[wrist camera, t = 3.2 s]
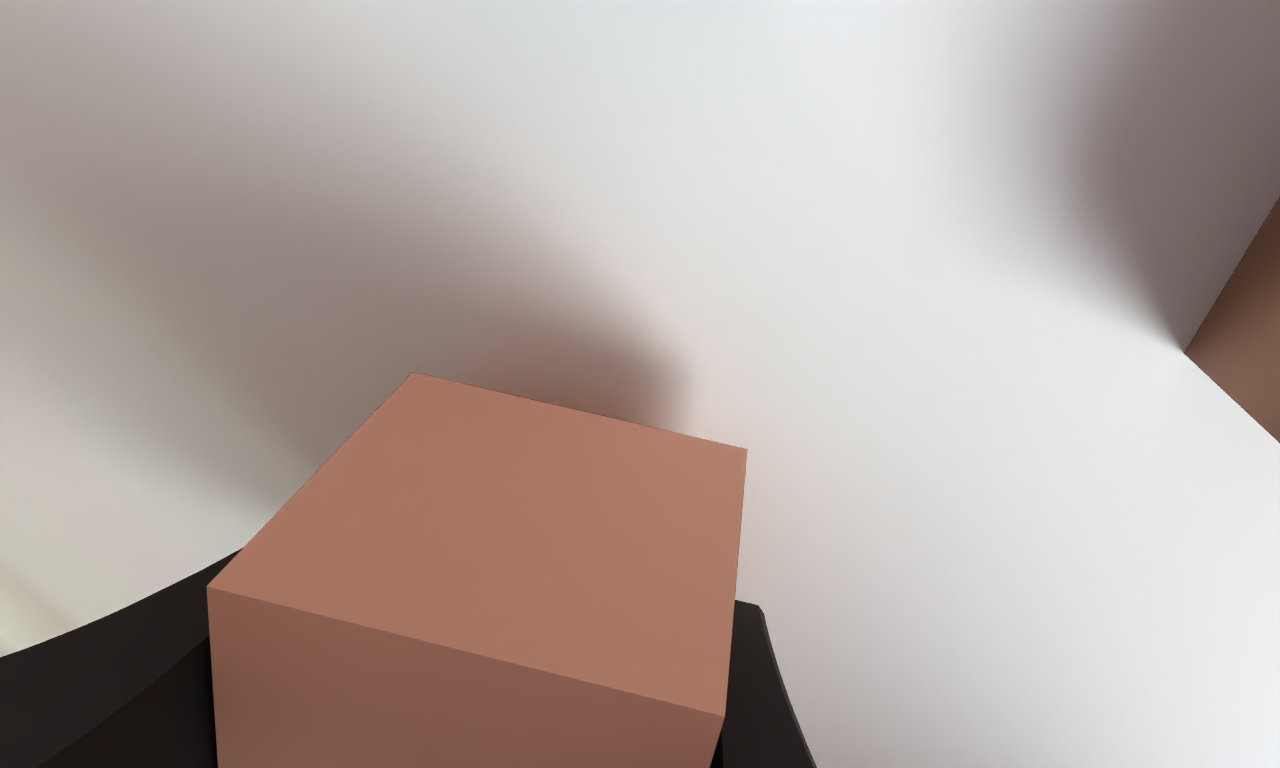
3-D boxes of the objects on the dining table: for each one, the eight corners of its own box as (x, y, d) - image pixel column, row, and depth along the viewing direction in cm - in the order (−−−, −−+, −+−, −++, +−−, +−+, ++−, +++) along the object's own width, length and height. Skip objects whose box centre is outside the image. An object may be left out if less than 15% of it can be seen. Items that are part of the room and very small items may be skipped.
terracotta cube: (679, 700, 14) (632, 1021, 10) (396, 630, 15) (227, 909, 10) (746, 448, 12) (724, 716, 8) (413, 372, 13) (206, 586, 8)
